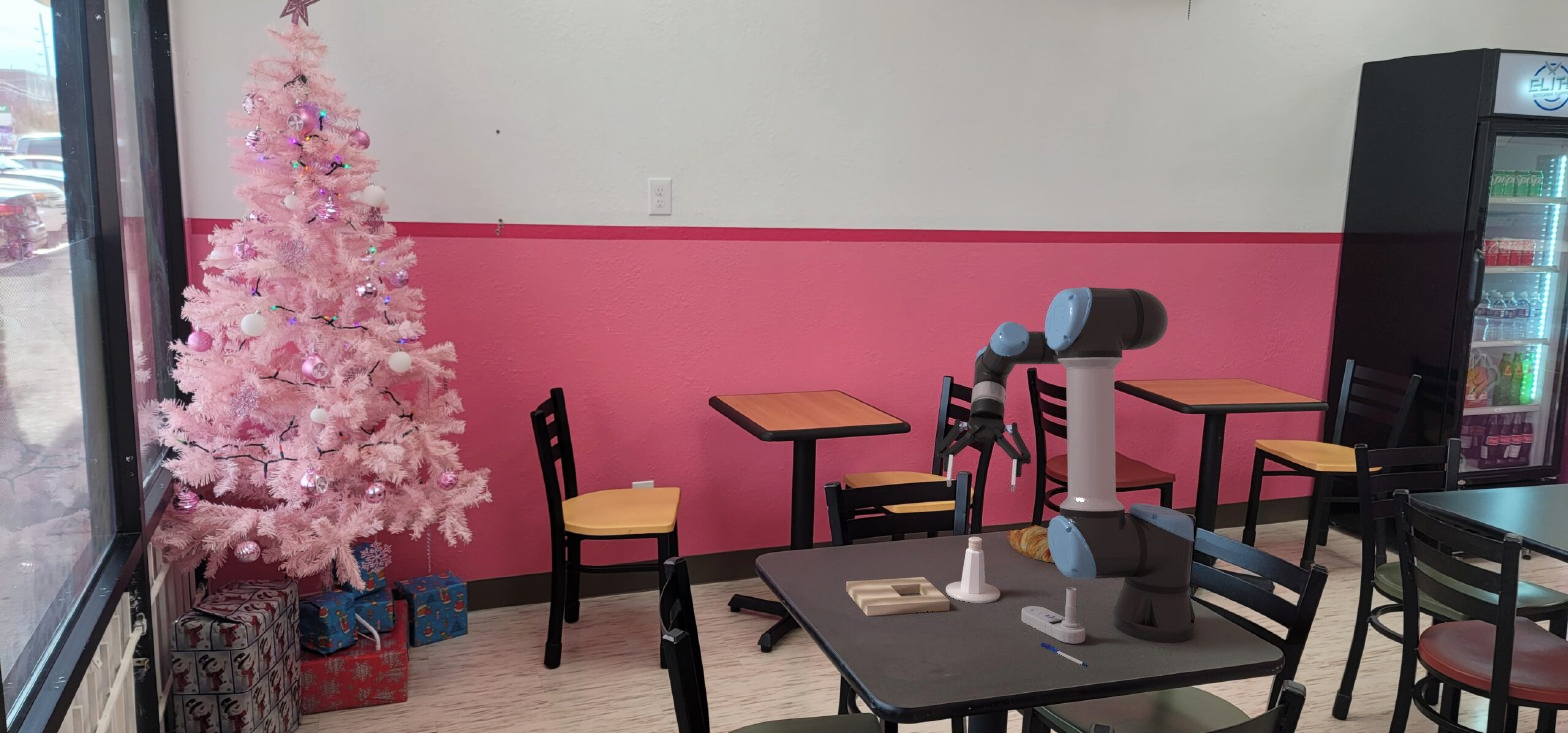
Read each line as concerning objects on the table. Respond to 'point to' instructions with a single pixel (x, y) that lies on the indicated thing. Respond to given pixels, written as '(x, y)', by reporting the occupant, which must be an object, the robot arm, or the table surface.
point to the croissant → (1031, 542)
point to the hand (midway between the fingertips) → (980, 486)
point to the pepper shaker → (974, 568)
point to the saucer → (957, 594)
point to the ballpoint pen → (1062, 653)
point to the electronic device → (1057, 620)
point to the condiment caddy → (896, 596)
